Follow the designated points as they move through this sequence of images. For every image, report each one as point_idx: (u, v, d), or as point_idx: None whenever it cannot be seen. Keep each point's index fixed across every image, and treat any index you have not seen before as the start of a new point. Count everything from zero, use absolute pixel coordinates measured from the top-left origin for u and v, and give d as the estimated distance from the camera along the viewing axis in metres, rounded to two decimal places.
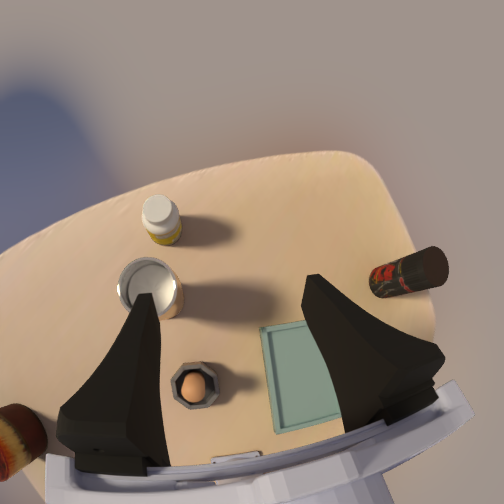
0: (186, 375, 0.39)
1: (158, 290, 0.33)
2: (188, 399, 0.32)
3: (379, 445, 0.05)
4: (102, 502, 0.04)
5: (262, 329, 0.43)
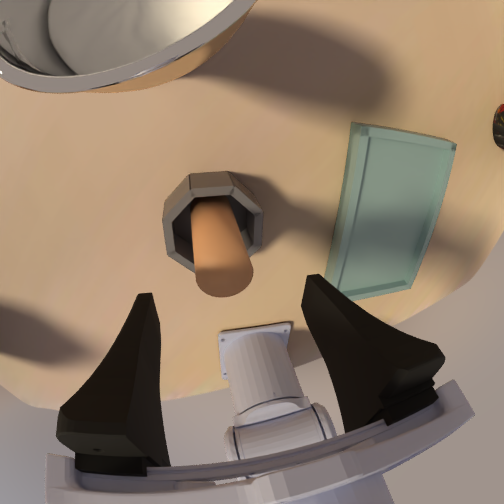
0: (196, 206, 0.19)
1: None
2: (210, 292, 0.15)
3: (379, 445, 0.05)
4: (102, 502, 0.04)
5: (362, 129, 0.19)
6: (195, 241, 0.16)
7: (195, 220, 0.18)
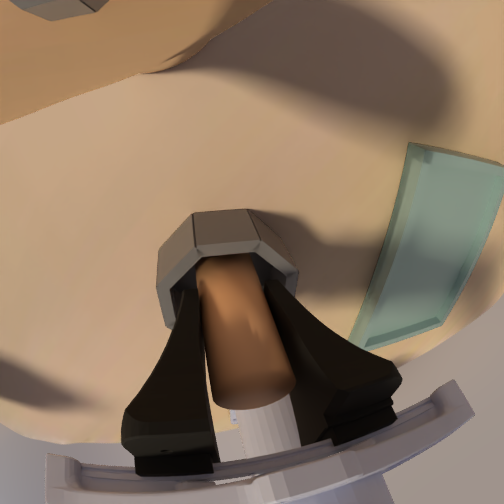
0: (205, 265, 0.14)
1: None
2: (233, 407, 0.10)
3: (379, 445, 0.05)
4: (102, 502, 0.04)
5: (425, 155, 0.13)
6: (207, 333, 0.11)
7: (204, 291, 0.12)
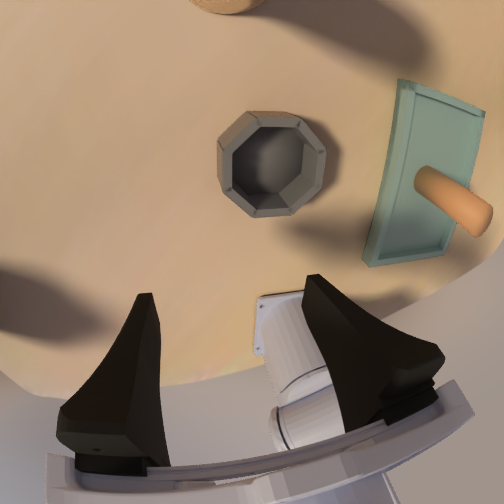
0: (432, 176, 0.21)
1: None
2: (474, 232, 0.18)
3: (379, 445, 0.05)
4: (102, 502, 0.04)
5: (410, 84, 0.17)
6: (457, 199, 0.19)
7: (441, 185, 0.20)
